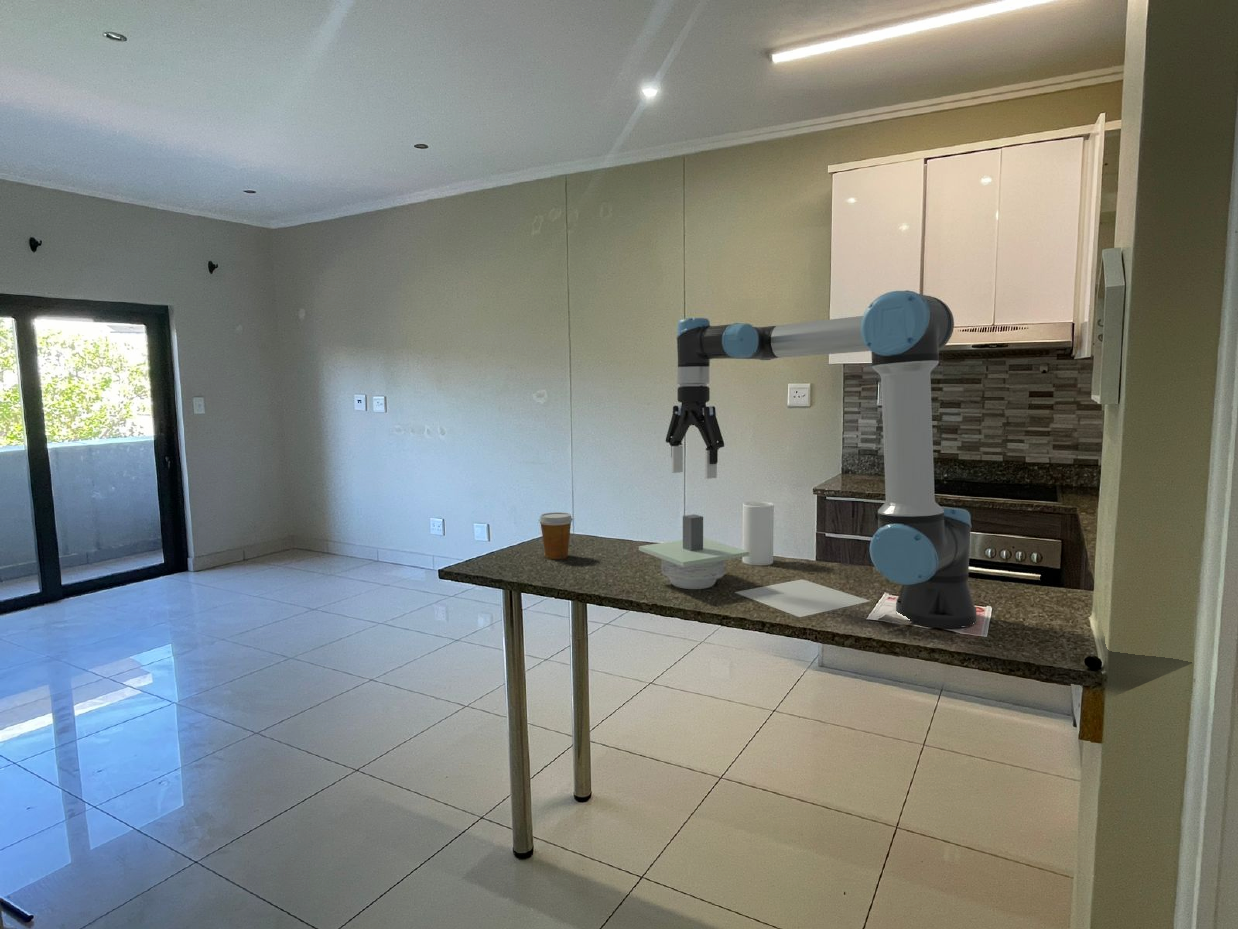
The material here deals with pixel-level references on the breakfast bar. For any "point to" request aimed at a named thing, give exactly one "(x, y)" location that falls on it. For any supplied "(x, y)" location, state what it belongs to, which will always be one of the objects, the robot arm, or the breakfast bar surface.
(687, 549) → the cover
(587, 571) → the breakfast bar surface
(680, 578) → the paper bowls
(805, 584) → the mat
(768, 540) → the cup
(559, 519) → the disposable coffee cup
